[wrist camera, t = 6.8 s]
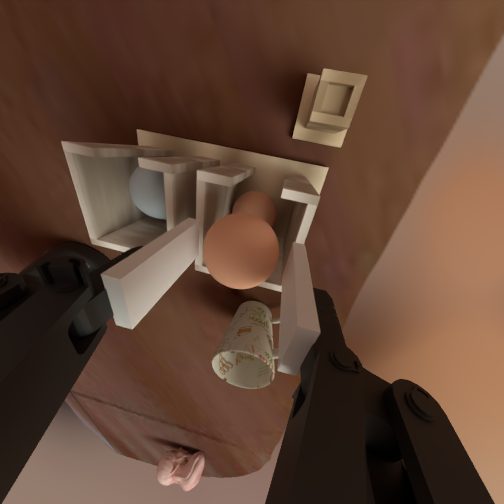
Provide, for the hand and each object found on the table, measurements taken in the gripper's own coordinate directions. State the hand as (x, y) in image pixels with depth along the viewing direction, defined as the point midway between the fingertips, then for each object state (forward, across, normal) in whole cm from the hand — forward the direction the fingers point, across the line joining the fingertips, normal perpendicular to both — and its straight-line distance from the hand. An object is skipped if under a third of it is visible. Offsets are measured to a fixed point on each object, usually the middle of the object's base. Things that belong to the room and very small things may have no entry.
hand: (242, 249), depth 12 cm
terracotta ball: (+2, 0, 0) cm, 2 cm away
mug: (+13, +4, -18) cm, 22 cm away
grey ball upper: (+7, -10, 0) cm, 12 cm away
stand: (+12, +4, +10) cm, 16 cm away
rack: (+12, -5, 0) cm, 13 cm away
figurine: (+13, -11, -108) cm, 109 cm away
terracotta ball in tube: (+12, -1, 0) cm, 12 cm away
